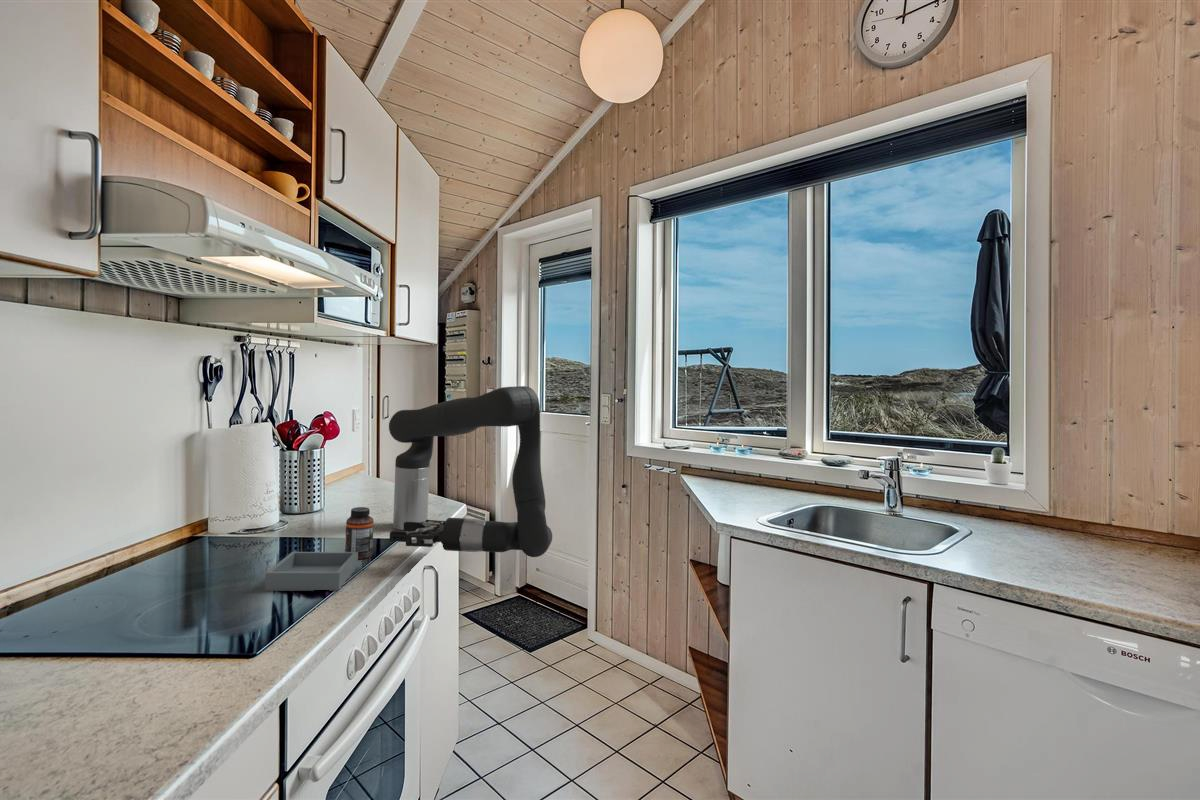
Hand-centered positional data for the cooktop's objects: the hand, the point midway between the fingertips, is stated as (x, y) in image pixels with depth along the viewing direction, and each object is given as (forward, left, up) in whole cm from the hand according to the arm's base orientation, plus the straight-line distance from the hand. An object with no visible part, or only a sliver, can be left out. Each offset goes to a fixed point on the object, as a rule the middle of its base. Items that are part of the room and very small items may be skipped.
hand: (397, 530), depth 134 cm
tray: (+13, -14, -7) cm, 20 cm away
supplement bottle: (-2, -9, -7) cm, 11 cm away
